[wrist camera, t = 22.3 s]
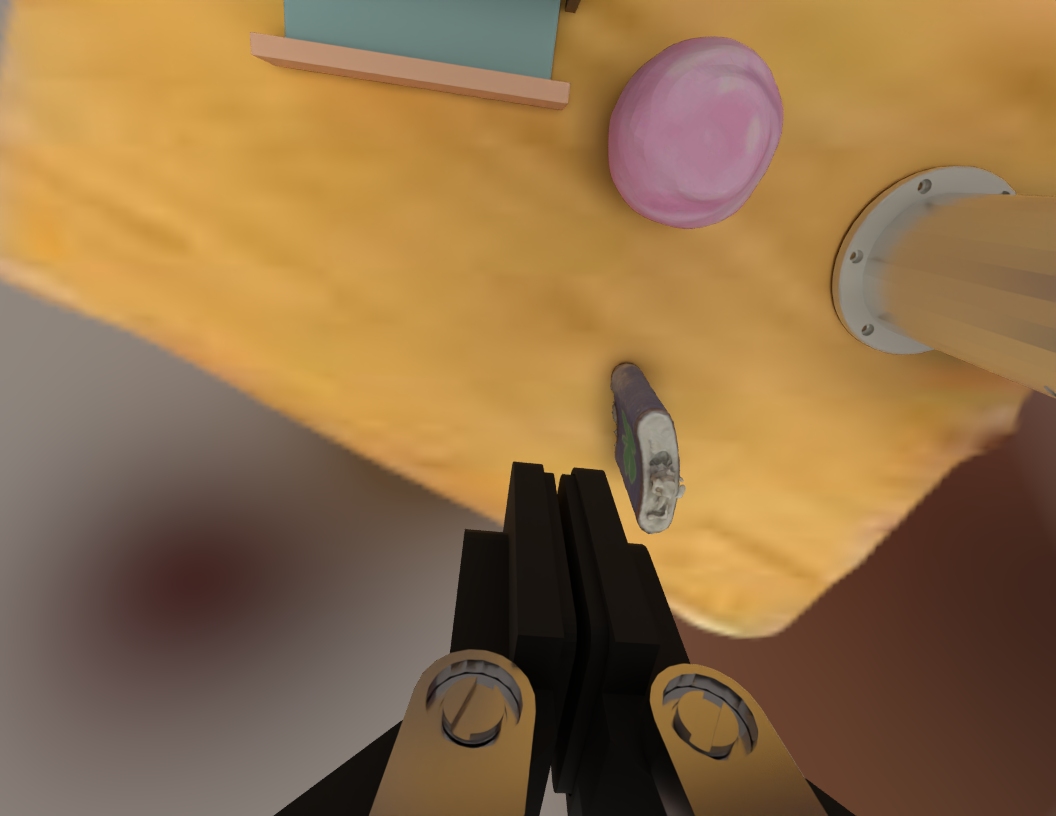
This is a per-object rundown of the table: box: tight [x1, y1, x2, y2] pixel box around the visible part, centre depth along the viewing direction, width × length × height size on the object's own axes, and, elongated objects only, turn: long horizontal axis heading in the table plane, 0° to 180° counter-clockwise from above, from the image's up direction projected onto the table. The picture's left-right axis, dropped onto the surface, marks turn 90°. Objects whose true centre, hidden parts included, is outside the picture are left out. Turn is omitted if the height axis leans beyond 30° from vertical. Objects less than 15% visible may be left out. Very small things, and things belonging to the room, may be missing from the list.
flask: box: [611, 363, 685, 534], centre depth 37 cm, size 9×3×11 cm, turn 6°
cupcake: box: [608, 37, 783, 229], centre depth 29 cm, size 9×9×10 cm
